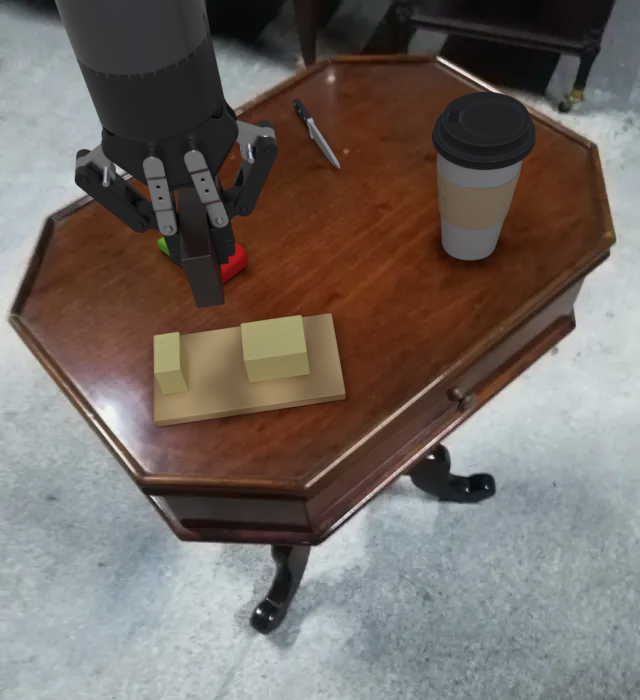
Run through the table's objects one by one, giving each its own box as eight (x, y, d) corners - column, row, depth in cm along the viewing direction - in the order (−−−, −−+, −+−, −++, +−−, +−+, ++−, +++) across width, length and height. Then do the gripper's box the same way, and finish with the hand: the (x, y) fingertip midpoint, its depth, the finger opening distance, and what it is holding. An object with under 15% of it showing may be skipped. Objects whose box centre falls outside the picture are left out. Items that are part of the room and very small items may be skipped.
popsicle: (215, 292, 79) (211, 279, 77) (129, 228, 85) (124, 215, 83) (253, 263, 80) (250, 250, 79) (166, 203, 87) (162, 190, 85)
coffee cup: (412, 224, 82) (417, 101, 69) (492, 202, 83) (511, 76, 70) (445, 283, 77) (457, 162, 64) (530, 259, 78) (558, 134, 65)
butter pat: (187, 354, 73) (179, 331, 70) (188, 391, 71) (180, 369, 68) (163, 358, 73) (153, 335, 70) (163, 395, 71) (154, 373, 68)
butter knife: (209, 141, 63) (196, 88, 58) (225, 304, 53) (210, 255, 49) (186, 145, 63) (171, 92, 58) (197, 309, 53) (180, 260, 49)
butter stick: (304, 338, 73) (301, 314, 70) (310, 374, 71) (307, 351, 68) (246, 346, 73) (240, 323, 70) (249, 383, 71) (243, 360, 68)
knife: (343, 178, 87) (342, 164, 85) (337, 180, 87) (336, 166, 85) (299, 110, 94) (297, 95, 93) (293, 111, 94) (292, 97, 93)
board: (332, 319, 75) (331, 312, 75) (346, 399, 70) (345, 393, 69) (155, 345, 75) (153, 338, 74) (156, 427, 70) (153, 421, 69)
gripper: (7, 89, 38) (113, 312, 53) (271, 46, 38) (305, 281, 53) (19, 12, 43) (115, 239, 57) (258, -26, 43) (293, 210, 57)
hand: (206, 258), depth 55 cm, fingers closed on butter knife, 2 cm apart
